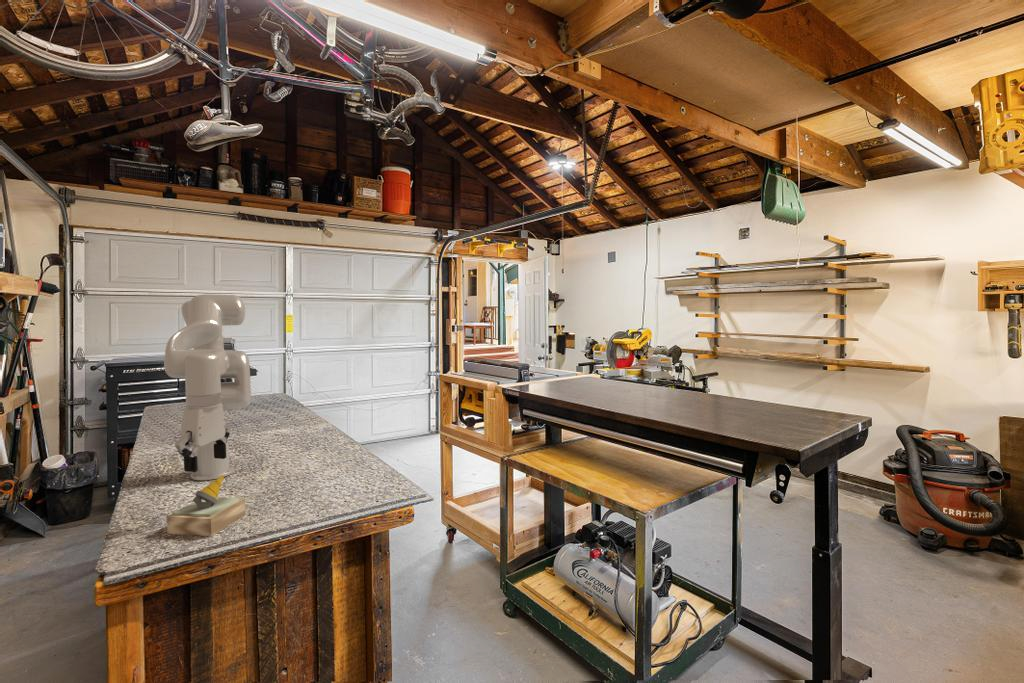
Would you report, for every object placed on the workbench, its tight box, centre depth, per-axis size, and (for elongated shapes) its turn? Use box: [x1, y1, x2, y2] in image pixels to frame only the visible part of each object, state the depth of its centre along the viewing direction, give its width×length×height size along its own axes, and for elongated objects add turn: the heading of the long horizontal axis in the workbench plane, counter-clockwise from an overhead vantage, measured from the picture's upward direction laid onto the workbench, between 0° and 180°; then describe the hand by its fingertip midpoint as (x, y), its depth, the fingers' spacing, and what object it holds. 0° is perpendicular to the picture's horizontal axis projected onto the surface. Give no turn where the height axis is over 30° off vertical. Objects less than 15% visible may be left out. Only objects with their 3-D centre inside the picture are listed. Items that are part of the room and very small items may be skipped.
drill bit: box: [193, 474, 225, 509], centre depth 118 cm, size 5×5×10 cm
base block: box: [166, 496, 246, 537], centre depth 118 cm, size 12×12×5 cm
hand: (206, 464), depth 118 cm, fingers open, 9 cm apart
